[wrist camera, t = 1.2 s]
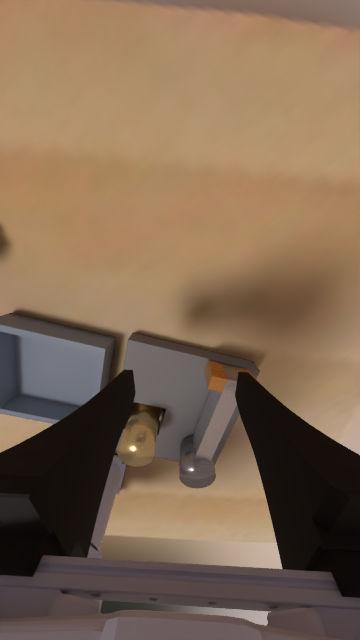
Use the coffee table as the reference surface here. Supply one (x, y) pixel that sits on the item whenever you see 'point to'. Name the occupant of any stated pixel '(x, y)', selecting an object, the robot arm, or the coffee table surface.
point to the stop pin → (140, 435)
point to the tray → (50, 367)
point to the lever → (209, 426)
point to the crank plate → (175, 388)
